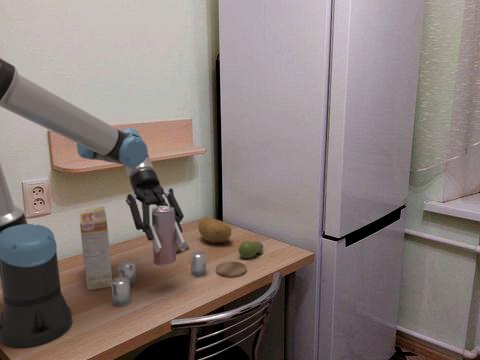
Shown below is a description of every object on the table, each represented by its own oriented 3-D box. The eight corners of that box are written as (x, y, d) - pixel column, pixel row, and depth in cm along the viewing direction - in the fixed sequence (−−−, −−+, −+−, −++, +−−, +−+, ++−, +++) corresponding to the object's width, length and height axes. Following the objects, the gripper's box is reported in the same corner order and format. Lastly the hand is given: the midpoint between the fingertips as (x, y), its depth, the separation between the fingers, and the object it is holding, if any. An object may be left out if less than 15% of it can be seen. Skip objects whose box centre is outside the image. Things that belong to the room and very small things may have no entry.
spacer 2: (189, 276, 123) (188, 256, 122) (194, 269, 128) (193, 251, 126) (203, 277, 123) (203, 257, 121) (208, 270, 127) (207, 251, 126)
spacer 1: (109, 305, 107) (107, 283, 106) (118, 297, 112) (116, 276, 110) (125, 307, 106) (124, 285, 105) (133, 298, 111) (132, 277, 109)
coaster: (212, 276, 123) (212, 273, 123) (220, 263, 132) (220, 260, 131) (243, 278, 121) (243, 275, 121) (248, 265, 130) (248, 262, 130)
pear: (235, 241, 135) (254, 237, 143) (234, 257, 135) (253, 252, 143) (249, 244, 132) (267, 240, 140) (248, 261, 132) (266, 256, 140)
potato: (219, 250, 142) (218, 227, 141) (192, 240, 152) (191, 219, 150) (239, 242, 149) (239, 221, 147) (212, 233, 159) (212, 213, 157)
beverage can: (152, 259, 116) (150, 206, 113) (174, 257, 118) (172, 205, 115) (155, 267, 111) (153, 212, 108) (177, 265, 113) (176, 210, 110)
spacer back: (117, 287, 117) (115, 267, 116) (124, 280, 121) (123, 260, 120) (132, 288, 116) (130, 268, 115) (139, 281, 121) (137, 261, 119)
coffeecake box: (85, 269, 129) (79, 208, 125) (110, 266, 131) (104, 205, 127) (86, 291, 115) (79, 222, 111) (113, 286, 118) (107, 219, 114)
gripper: (168, 179, 128) (197, 246, 119) (106, 187, 118) (132, 261, 108) (176, 164, 123) (206, 233, 113) (112, 171, 112) (139, 248, 102)
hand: (170, 247), depth 111 cm, fingers closed on beverage can, 6 cm apart
